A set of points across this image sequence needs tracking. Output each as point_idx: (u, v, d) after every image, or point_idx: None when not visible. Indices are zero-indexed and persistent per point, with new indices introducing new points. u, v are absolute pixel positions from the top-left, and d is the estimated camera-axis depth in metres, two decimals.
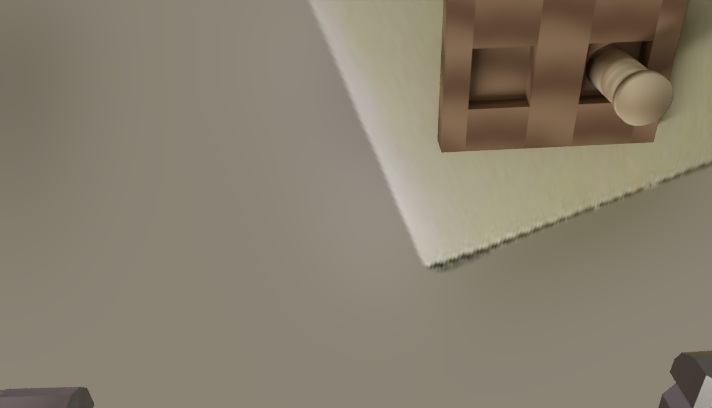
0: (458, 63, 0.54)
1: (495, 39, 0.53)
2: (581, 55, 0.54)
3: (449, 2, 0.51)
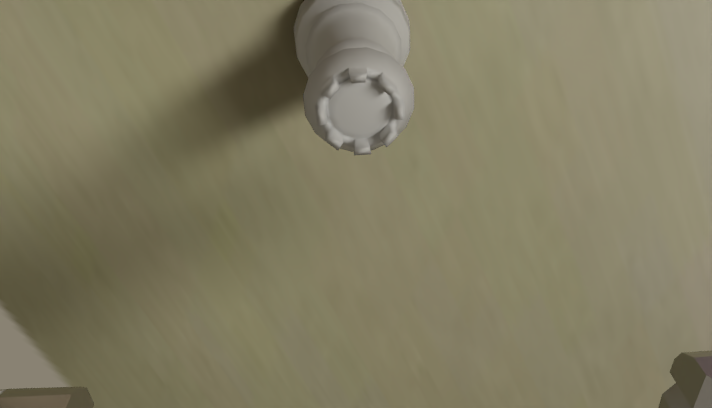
0: None
1: None
2: None
3: None
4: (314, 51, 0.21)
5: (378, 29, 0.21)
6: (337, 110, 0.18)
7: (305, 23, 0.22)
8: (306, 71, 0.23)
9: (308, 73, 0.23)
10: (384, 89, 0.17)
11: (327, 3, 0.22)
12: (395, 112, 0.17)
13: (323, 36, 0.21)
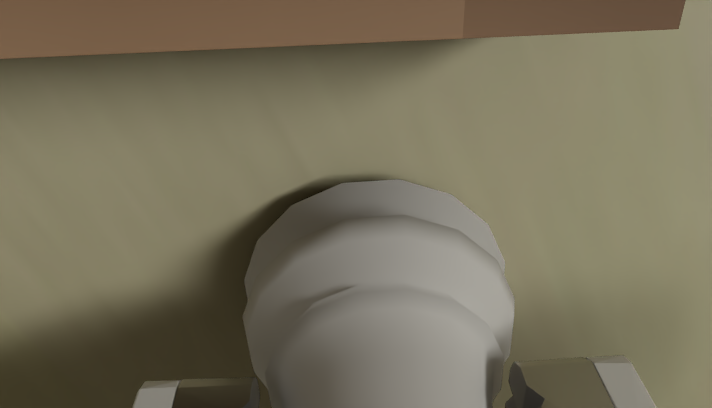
0: None
1: None
2: None
3: (675, 2, 0.06)
4: None
5: (458, 380, 0.08)
6: None
7: (266, 312, 0.09)
8: None
9: None
10: None
11: (320, 275, 0.09)
12: None
13: (308, 389, 0.08)
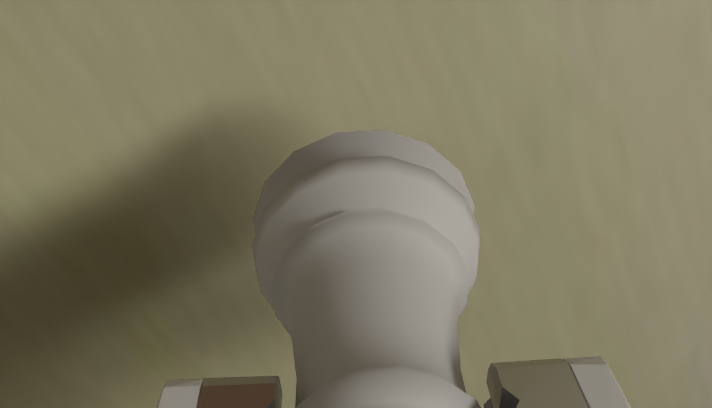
0: None
1: None
2: None
3: None
4: (289, 311, 0.10)
5: (427, 281, 0.09)
6: None
7: (272, 235, 0.11)
8: None
9: None
10: None
11: (318, 203, 0.10)
12: None
13: (307, 290, 0.10)
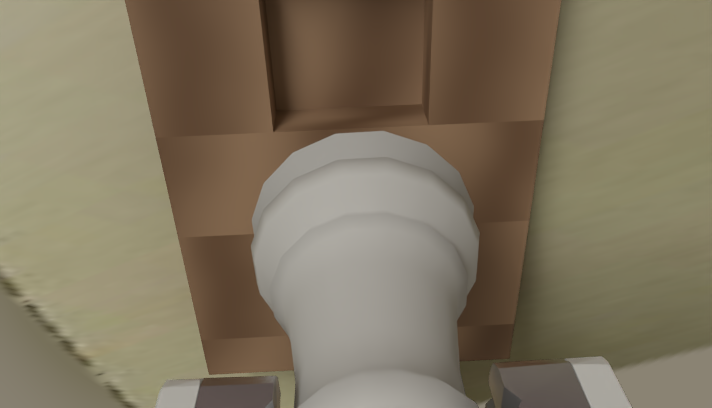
0: None
1: (453, 22, 0.21)
2: None
3: None
4: (287, 313, 0.10)
5: (427, 283, 0.09)
6: None
7: (270, 237, 0.11)
8: None
9: None
10: None
11: (317, 204, 0.10)
12: None
13: (305, 292, 0.10)
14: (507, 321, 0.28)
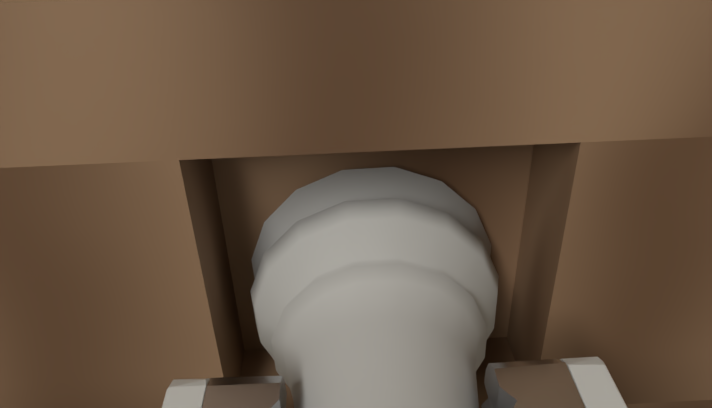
0: (499, 69, 0.08)
1: (605, 250, 0.10)
2: None
3: None
4: (290, 372, 0.09)
5: (444, 343, 0.09)
6: None
7: (272, 284, 0.10)
8: None
9: None
10: None
11: (323, 251, 0.09)
12: None
13: (311, 351, 0.09)
14: None
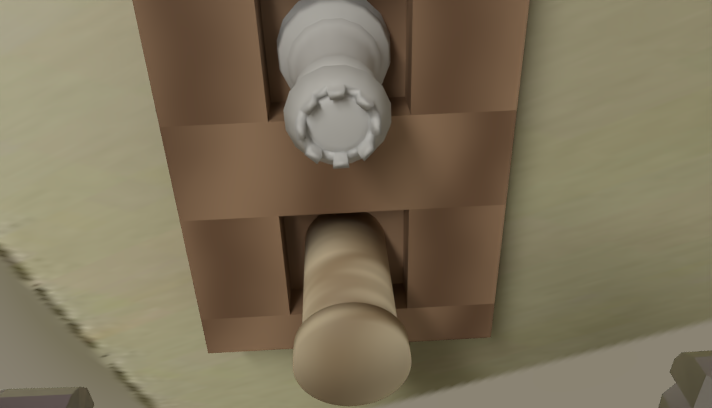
0: None
1: (432, 20, 0.23)
2: (385, 201, 0.27)
3: None
4: (296, 65, 0.22)
5: (358, 44, 0.21)
6: (316, 125, 0.18)
7: (287, 36, 0.23)
8: (289, 83, 0.24)
9: (291, 85, 0.24)
10: (361, 106, 0.18)
11: (309, 18, 0.22)
12: (372, 127, 0.18)
13: (304, 50, 0.21)
14: (487, 301, 0.30)
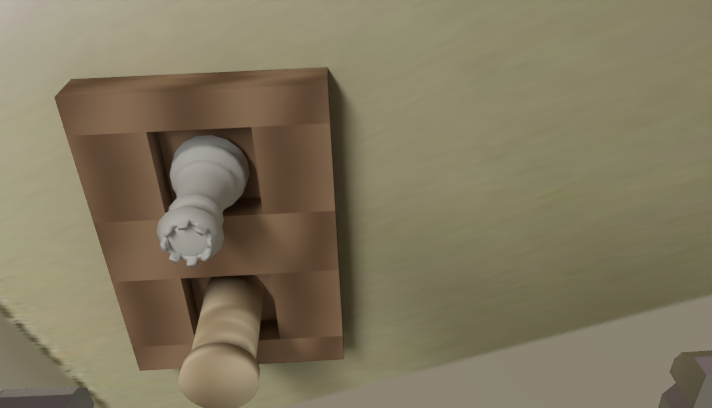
0: (224, 108, 0.33)
1: (268, 158, 0.34)
2: (253, 268, 0.38)
3: (322, 85, 0.32)
4: (177, 190, 0.34)
5: (214, 179, 0.33)
6: (174, 242, 0.30)
7: (174, 168, 0.34)
8: None
9: None
10: (198, 233, 0.29)
11: (186, 158, 0.34)
12: (207, 244, 0.30)
13: (180, 182, 0.33)
14: (337, 334, 0.42)
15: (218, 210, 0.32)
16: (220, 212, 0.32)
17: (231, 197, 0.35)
